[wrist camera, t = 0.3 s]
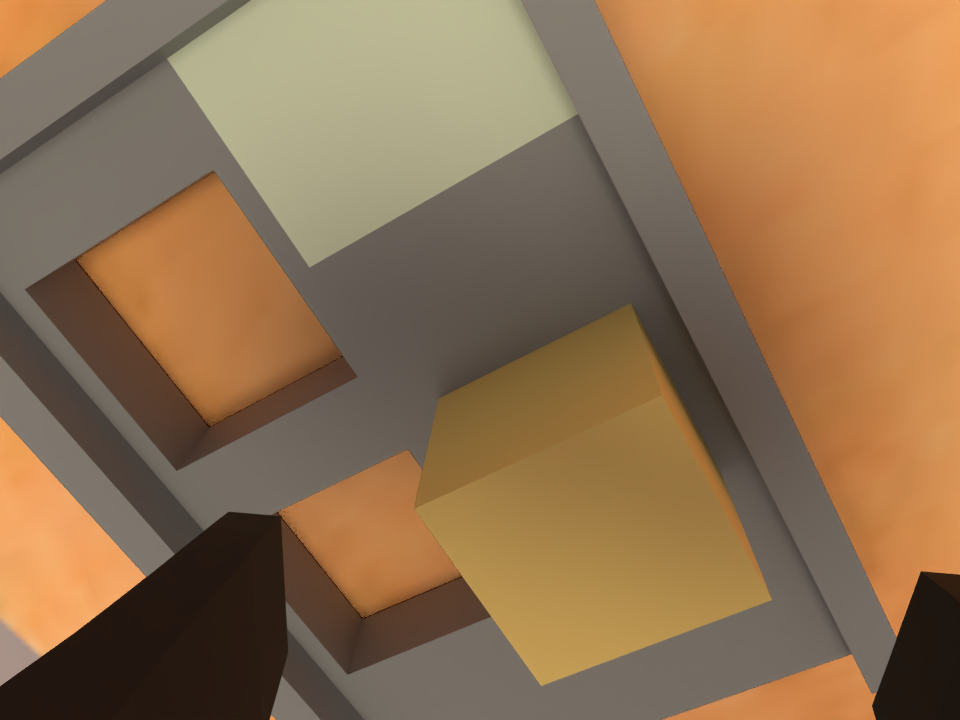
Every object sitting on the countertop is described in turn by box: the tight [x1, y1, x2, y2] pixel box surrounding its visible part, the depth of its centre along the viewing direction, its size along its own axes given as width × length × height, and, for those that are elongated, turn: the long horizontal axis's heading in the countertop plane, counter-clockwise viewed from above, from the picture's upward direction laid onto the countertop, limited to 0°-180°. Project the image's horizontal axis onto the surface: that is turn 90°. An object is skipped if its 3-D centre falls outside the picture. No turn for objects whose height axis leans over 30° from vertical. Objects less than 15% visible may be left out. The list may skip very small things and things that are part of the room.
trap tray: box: [0, 0, 897, 720], centre depth 18 cm, size 20×14×3 cm
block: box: [414, 303, 772, 686], centre depth 15 cm, size 4×4×4 cm
